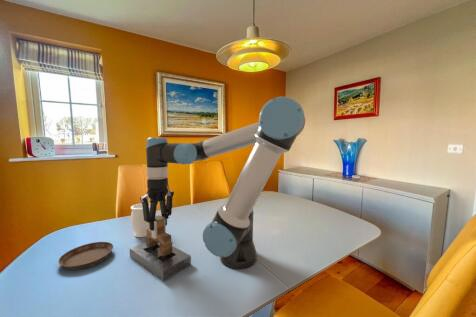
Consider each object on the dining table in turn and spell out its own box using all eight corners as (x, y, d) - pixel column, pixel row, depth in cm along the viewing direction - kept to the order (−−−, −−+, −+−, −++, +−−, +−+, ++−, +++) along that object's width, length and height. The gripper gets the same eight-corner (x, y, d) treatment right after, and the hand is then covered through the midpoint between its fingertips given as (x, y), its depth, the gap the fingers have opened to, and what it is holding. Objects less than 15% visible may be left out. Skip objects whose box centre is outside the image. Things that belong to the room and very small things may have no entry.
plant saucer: (45, 274, 72) (44, 266, 71) (80, 248, 89) (80, 242, 89) (96, 272, 73) (96, 264, 73) (121, 247, 90) (121, 240, 90)
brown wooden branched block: (172, 252, 78) (172, 219, 77) (163, 256, 75) (162, 222, 74) (154, 242, 85) (154, 212, 84) (145, 245, 82) (145, 215, 81)
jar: (145, 239, 97) (144, 209, 96) (126, 237, 99) (125, 208, 98) (158, 230, 108) (157, 203, 106) (141, 228, 110) (140, 201, 108)
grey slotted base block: (190, 264, 78) (190, 255, 78) (163, 281, 68) (163, 271, 68) (156, 245, 92) (156, 237, 92) (129, 256, 83) (129, 248, 82)
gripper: (169, 174, 86) (170, 226, 88) (131, 179, 73) (133, 240, 75) (180, 175, 82) (181, 231, 84) (142, 181, 69) (143, 247, 71)
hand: (158, 235), depth 80 cm, fingers closed on brown wooden branched block, 3 cm apart
